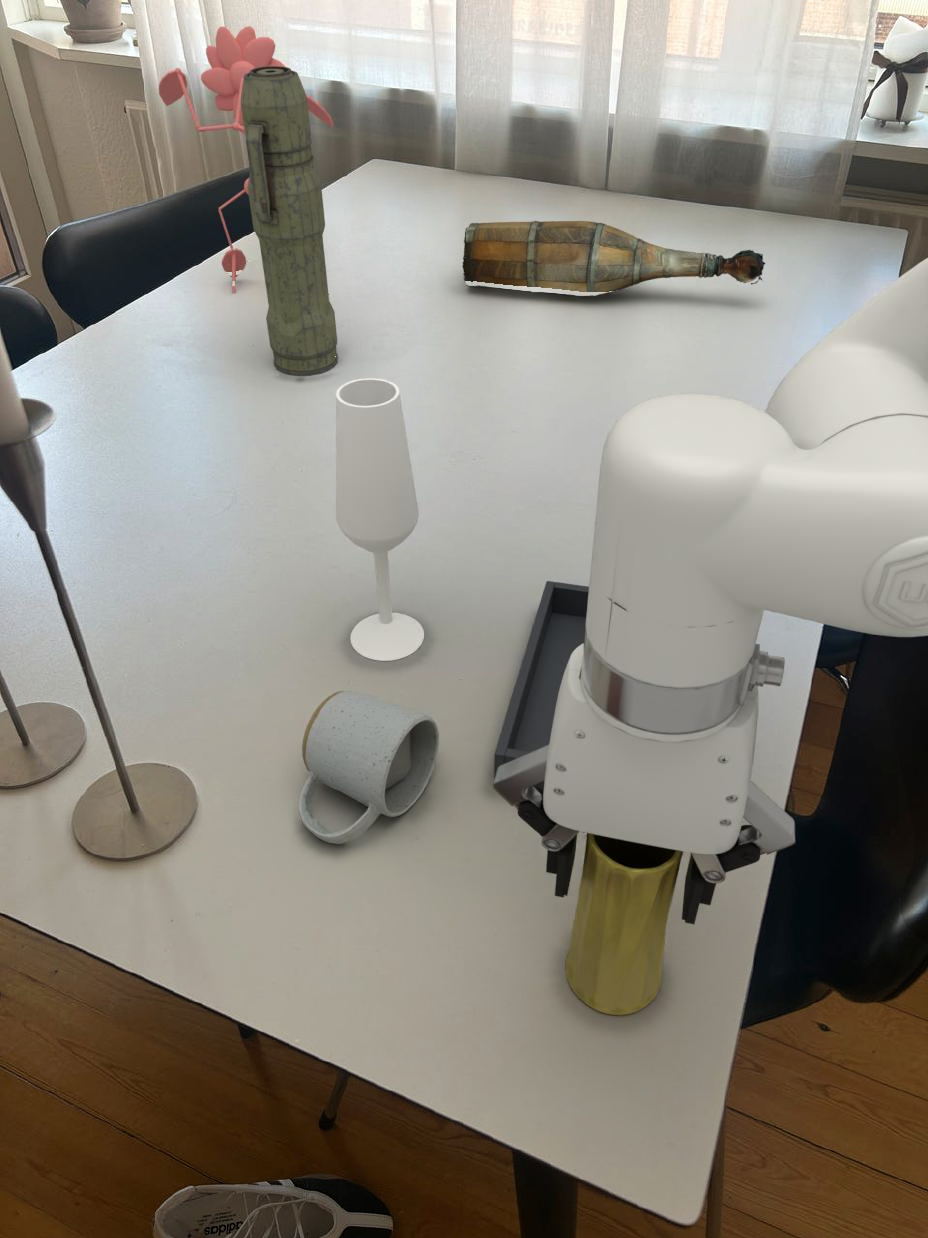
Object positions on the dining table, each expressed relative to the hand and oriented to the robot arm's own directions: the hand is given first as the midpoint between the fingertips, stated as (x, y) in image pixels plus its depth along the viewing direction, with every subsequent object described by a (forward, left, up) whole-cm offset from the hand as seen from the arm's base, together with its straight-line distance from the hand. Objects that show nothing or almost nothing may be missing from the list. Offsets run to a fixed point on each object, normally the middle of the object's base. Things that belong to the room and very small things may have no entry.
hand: (626, 887), depth 56 cm
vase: (0, 0, -9) cm, 9 cm away
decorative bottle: (+15, -112, -9) cm, 113 cm away
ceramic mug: (+20, -10, -9) cm, 24 cm away
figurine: (+68, -108, -9) cm, 128 cm away
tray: (+3, -24, -9) cm, 26 cm away
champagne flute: (+24, -28, -9) cm, 38 cm away
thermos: (+52, -80, -9) cm, 96 cm away
